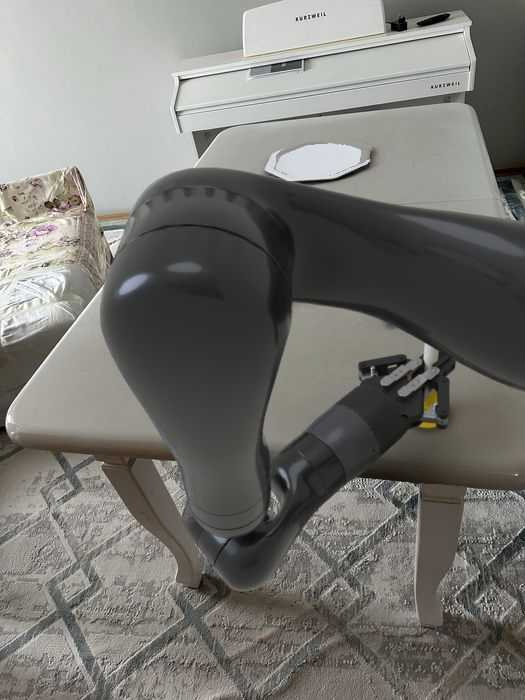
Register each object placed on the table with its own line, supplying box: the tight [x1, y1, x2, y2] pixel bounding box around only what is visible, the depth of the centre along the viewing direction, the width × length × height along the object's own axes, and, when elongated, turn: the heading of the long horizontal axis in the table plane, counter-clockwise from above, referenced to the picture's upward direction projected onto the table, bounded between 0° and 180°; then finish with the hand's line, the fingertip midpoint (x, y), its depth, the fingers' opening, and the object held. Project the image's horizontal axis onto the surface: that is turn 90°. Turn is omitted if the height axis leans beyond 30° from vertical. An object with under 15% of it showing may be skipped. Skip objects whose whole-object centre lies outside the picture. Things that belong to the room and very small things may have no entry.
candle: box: [418, 343, 439, 429], centre depth 64 cm, size 5×5×16 cm
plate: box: [264, 143, 371, 183], centre depth 138 cm, size 28×28×2 cm
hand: (446, 354), depth 64 cm, fingers closed on candle, 1 cm apart
